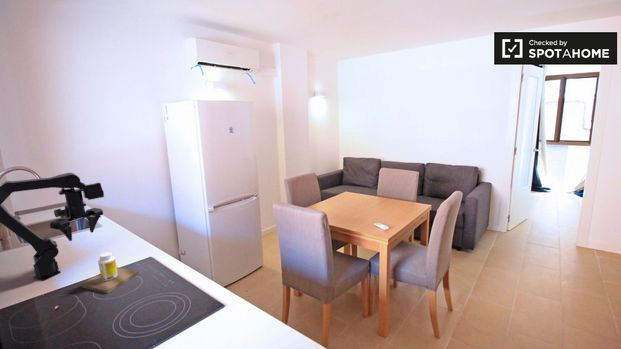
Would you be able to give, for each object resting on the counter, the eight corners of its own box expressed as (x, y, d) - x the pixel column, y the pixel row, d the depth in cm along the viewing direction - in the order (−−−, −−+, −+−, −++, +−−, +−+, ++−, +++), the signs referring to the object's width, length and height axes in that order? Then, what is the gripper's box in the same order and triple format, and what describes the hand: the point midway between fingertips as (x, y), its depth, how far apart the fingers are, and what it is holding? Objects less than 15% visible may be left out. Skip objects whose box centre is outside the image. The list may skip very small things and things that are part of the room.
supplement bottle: (120, 273, 124) (116, 250, 122) (113, 281, 119) (109, 257, 116) (106, 274, 124) (102, 251, 121) (98, 281, 118) (93, 258, 116)
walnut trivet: (107, 293, 113) (107, 290, 112) (80, 287, 117) (80, 284, 117) (138, 274, 126) (138, 271, 125) (113, 268, 130) (113, 266, 130)
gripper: (83, 194, 140) (89, 226, 143) (37, 207, 122) (45, 243, 126) (101, 196, 136) (106, 229, 140) (56, 210, 119) (63, 246, 122)
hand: (81, 236), depth 132 cm, fingers open, 9 cm apart
